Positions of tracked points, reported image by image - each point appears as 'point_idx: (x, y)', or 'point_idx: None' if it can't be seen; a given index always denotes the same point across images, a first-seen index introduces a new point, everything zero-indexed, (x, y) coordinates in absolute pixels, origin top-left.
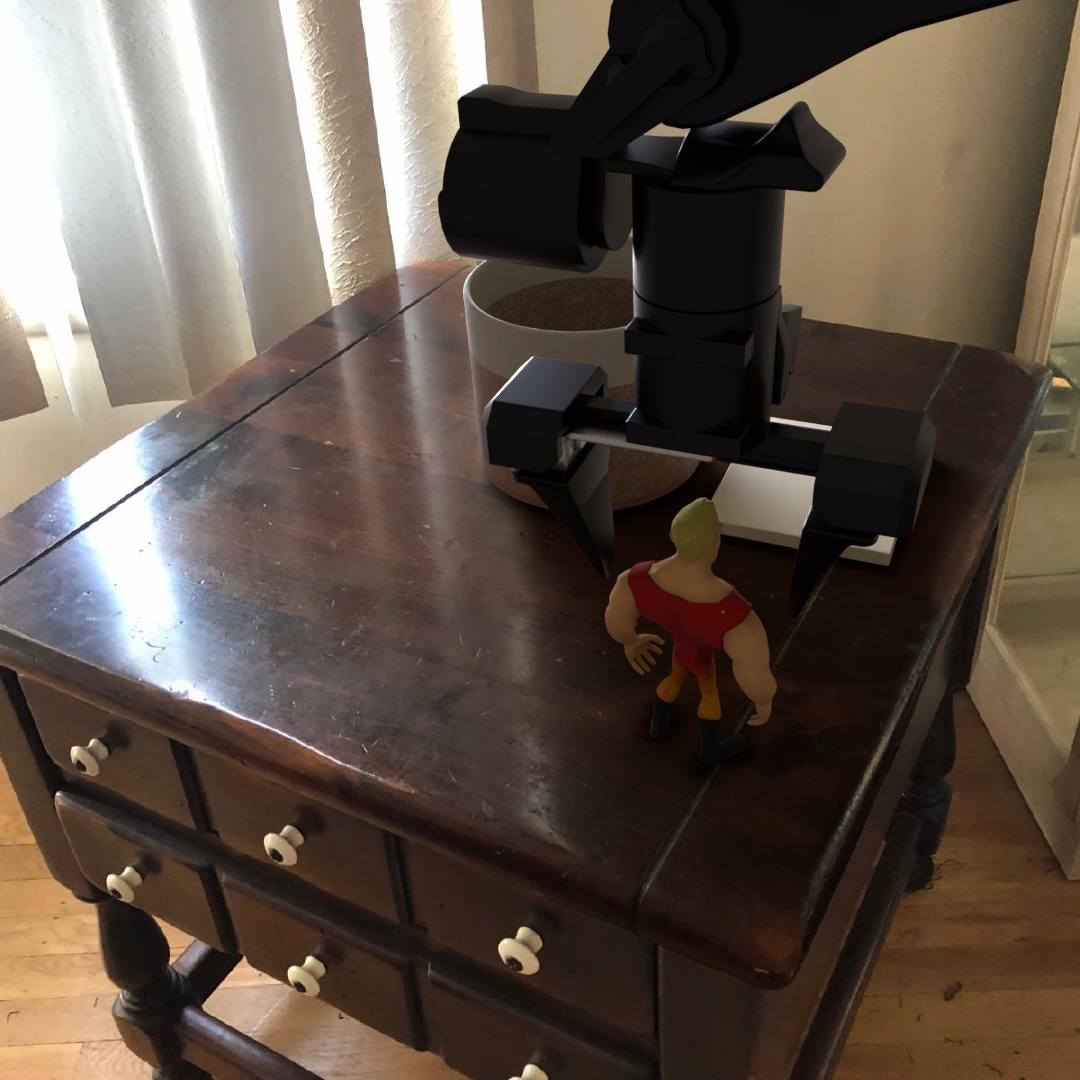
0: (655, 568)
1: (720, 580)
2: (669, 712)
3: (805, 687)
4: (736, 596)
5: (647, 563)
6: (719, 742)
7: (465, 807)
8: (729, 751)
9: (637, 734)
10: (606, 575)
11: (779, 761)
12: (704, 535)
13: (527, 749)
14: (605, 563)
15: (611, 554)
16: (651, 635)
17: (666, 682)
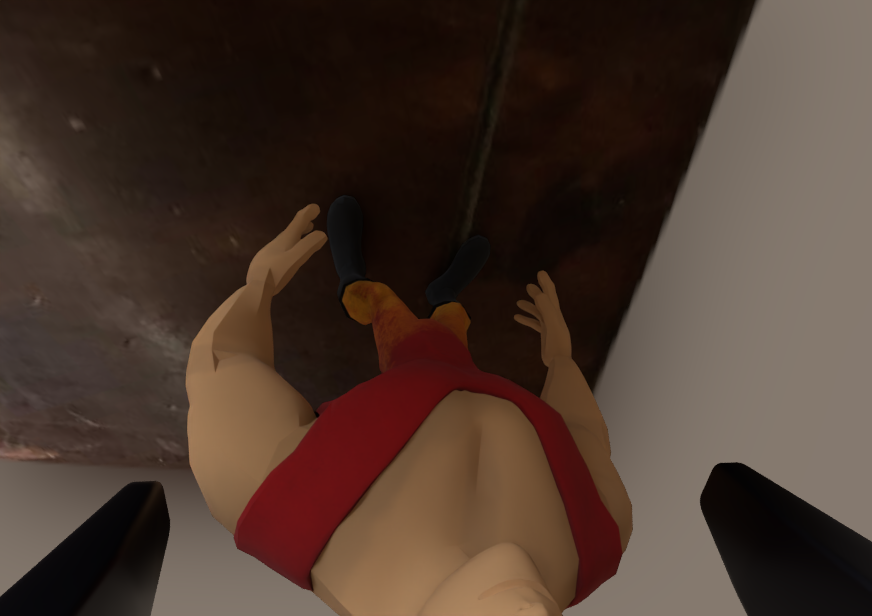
0: (336, 606)
1: (546, 564)
2: (356, 230)
3: (579, 68)
4: (593, 583)
5: (292, 563)
6: (455, 279)
7: (141, 453)
8: (470, 279)
9: (315, 268)
10: (166, 542)
11: (541, 255)
12: None
13: (160, 346)
14: (149, 594)
15: (140, 553)
16: (297, 257)
17: (362, 313)
